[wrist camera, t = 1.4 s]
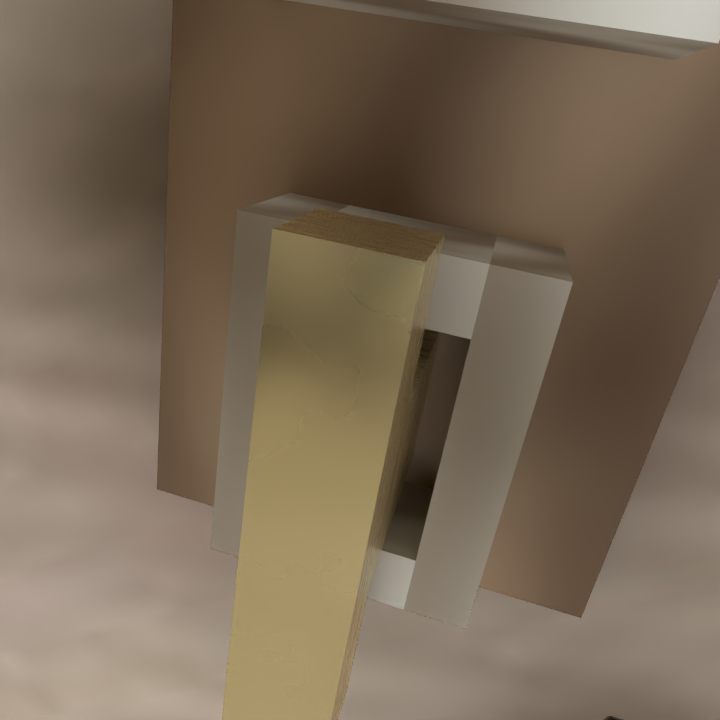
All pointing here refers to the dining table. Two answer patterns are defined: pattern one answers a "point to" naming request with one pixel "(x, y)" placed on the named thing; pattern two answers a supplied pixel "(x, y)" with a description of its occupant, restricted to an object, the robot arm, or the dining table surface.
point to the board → (455, 255)
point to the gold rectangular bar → (326, 452)
